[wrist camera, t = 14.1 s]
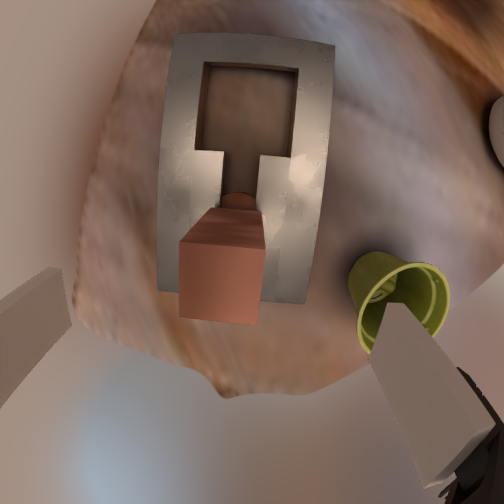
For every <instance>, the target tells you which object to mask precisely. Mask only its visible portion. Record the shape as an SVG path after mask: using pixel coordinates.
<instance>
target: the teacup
mask: <svg viewBox="0 0 504 504" xmlns="http://www.w3.org/2000/svg"><path fill="white" fill-rule="evenodd" d="M489 135H490V140H491V144H492V147H493V149H494V151H495V153H496V156H497V158H498V160H499V161H500V163H501V164H502V166H503V167H504V96H503V97H501V98H499V99H498V100H497V101H496V102H495V103H494V104H493V106H492V109H491V112H490V118H489Z"/></svg>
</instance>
